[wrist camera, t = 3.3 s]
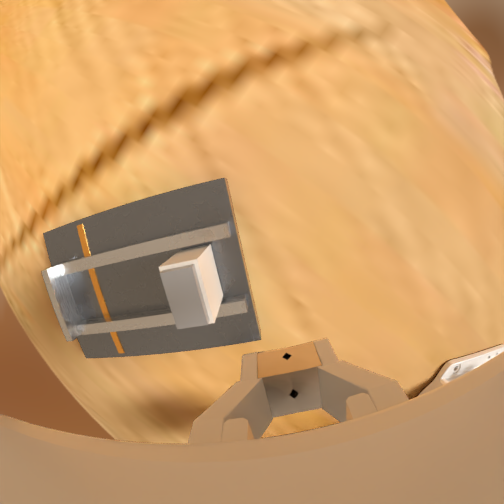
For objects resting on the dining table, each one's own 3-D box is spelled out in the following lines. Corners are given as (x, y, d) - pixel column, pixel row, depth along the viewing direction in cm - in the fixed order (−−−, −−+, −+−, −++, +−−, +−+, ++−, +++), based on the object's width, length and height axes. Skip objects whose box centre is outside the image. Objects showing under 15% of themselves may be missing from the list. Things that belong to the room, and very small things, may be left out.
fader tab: (210, 243, 25) (194, 261, 19) (223, 295, 26) (212, 327, 20) (179, 250, 26) (154, 269, 19) (193, 300, 27) (174, 333, 20)
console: (226, 178, 26) (220, 175, 22) (260, 330, 30) (261, 355, 25) (53, 230, 28) (26, 237, 23) (93, 350, 31) (74, 370, 26)
